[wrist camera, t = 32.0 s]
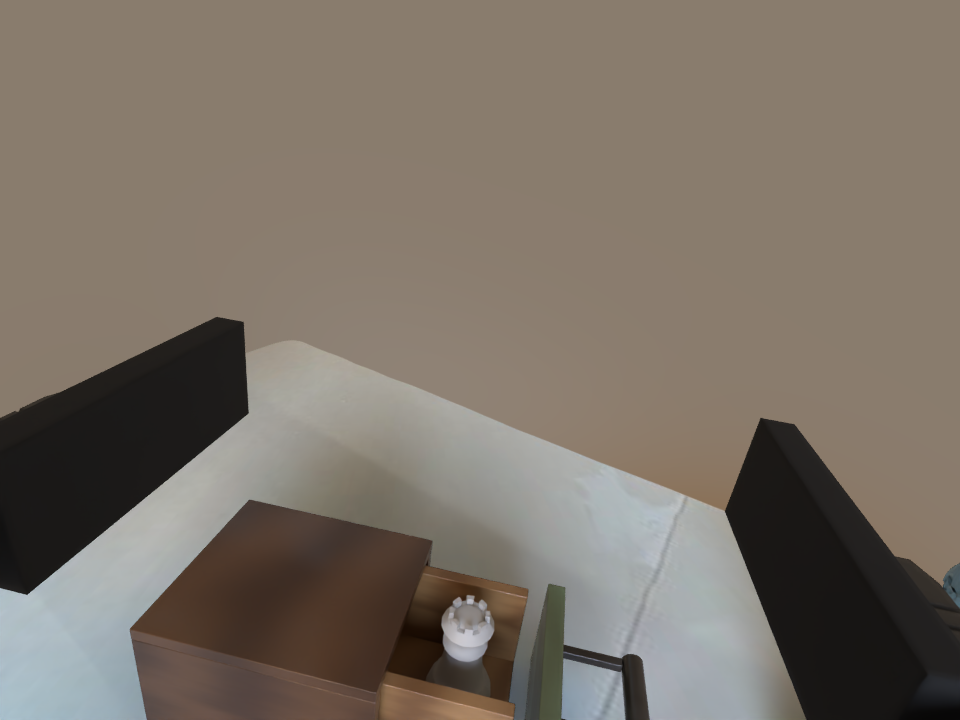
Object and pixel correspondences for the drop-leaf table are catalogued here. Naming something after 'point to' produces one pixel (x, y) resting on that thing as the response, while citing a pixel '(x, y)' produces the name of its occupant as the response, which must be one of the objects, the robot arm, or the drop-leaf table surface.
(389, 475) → the drop-leaf table surface
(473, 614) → the rook chess piece
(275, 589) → the cabinet
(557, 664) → the drawer
